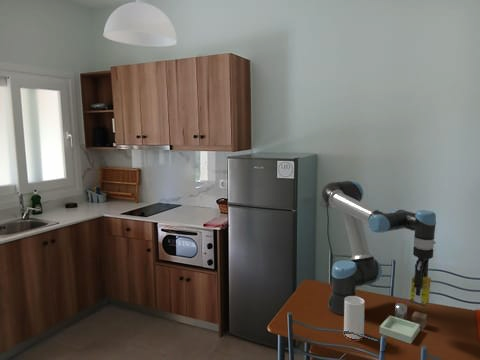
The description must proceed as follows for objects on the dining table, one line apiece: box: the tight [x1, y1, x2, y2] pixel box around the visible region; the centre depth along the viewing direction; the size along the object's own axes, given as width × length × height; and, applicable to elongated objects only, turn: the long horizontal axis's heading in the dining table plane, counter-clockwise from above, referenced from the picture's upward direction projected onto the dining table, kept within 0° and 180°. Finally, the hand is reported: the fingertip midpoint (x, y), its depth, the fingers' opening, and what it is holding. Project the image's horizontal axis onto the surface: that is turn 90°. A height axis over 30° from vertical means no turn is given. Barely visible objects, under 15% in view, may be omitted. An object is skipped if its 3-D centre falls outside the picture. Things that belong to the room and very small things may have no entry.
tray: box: [379, 315, 421, 345], centre depth 157 cm, size 13×13×3 cm
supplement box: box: [409, 275, 432, 307], centre depth 153 cm, size 6×6×11 cm
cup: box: [343, 295, 365, 339], centre depth 155 cm, size 8×8×16 cm
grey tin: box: [394, 302, 408, 321], centre depth 168 cm, size 5×5×7 cm
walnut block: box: [411, 311, 428, 330], centre depth 162 cm, size 5×5×5 cm
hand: (419, 298), depth 154 cm, fingers closed on supplement box, 6 cm apart
